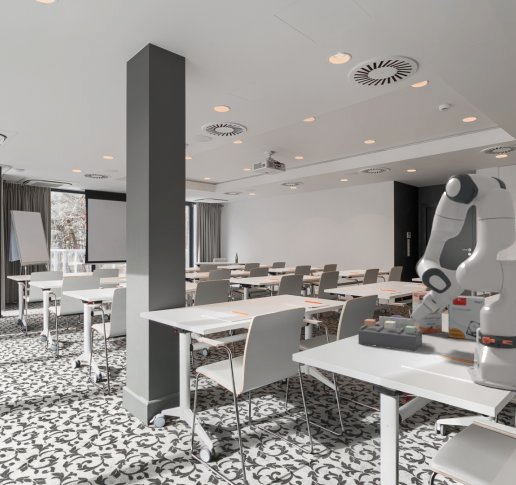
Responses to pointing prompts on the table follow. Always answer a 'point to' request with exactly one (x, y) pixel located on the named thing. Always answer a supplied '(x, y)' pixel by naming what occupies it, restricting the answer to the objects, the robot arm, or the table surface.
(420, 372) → the table surface
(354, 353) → the table surface
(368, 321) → the terracotta key
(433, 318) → the cracker box
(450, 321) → the hard drive box
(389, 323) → the cream key
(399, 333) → the key console
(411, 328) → the sage key
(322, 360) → the table surface
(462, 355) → the table surface
